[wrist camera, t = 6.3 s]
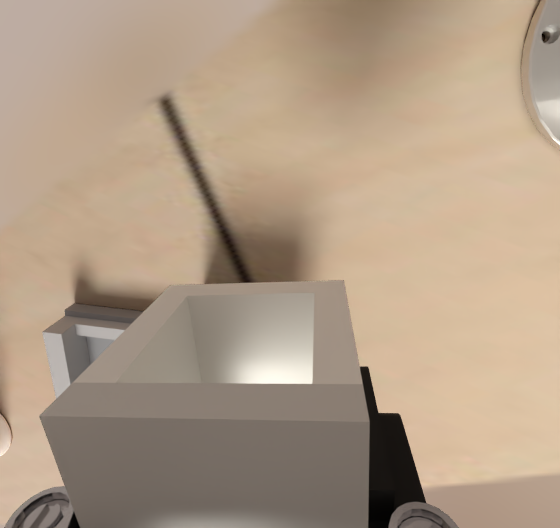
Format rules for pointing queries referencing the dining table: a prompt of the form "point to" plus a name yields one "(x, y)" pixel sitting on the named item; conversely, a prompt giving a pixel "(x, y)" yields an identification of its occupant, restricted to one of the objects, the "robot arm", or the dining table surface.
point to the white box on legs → (221, 414)
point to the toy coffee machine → (82, 340)
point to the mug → (4, 435)
